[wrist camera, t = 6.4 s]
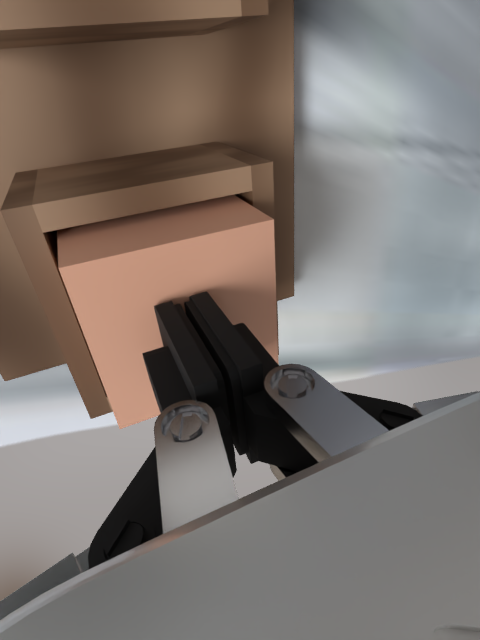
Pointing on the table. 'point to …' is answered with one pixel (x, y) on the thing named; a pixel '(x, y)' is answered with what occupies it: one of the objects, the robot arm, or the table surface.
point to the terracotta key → (165, 284)
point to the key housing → (131, 142)
